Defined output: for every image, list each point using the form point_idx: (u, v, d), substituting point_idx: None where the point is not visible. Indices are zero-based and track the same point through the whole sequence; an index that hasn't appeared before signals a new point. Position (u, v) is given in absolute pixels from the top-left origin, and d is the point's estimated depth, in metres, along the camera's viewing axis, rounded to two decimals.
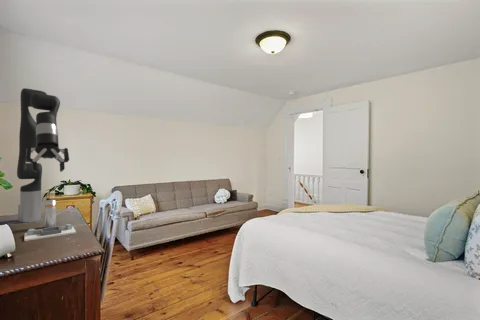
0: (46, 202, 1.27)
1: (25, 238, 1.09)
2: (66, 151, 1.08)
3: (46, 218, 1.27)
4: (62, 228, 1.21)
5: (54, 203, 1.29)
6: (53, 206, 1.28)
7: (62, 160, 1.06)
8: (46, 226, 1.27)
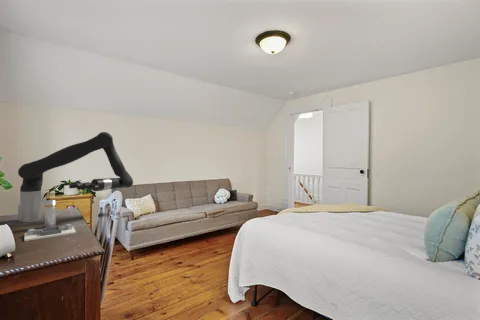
0: (46, 202, 1.27)
1: (25, 238, 1.09)
2: None
3: (46, 218, 1.27)
4: (62, 228, 1.21)
5: (54, 203, 1.29)
6: (53, 206, 1.28)
7: (77, 187, 1.45)
8: (46, 226, 1.27)
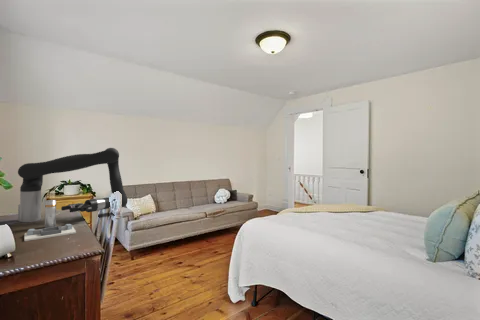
0: (46, 202, 1.27)
1: (25, 238, 1.09)
2: None
3: (46, 218, 1.27)
4: (62, 228, 1.21)
5: (54, 203, 1.29)
6: (53, 206, 1.28)
7: (69, 209, 1.42)
8: (46, 226, 1.27)
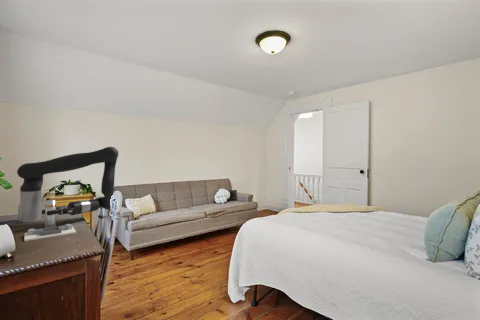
0: (46, 202, 1.27)
1: (25, 238, 1.09)
2: None
3: (46, 218, 1.27)
4: (62, 228, 1.21)
5: (54, 203, 1.29)
6: (53, 206, 1.28)
7: None
8: (46, 226, 1.27)
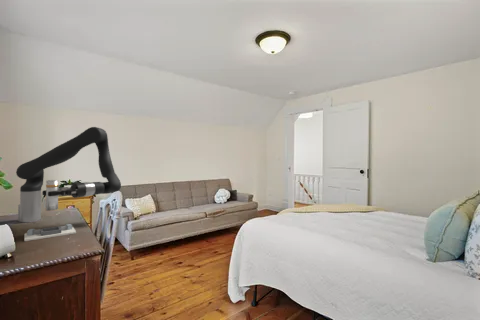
0: (47, 182, 1.16)
1: (25, 238, 1.09)
2: None
3: (47, 199, 1.16)
4: (62, 228, 1.21)
5: (56, 183, 1.18)
6: (55, 186, 1.17)
7: None
8: (47, 208, 1.16)
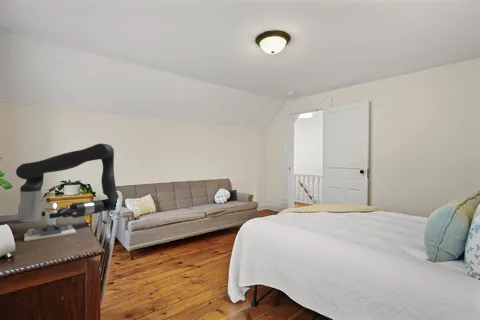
0: (46, 205, 1.16)
1: (25, 238, 1.09)
2: None
3: (46, 223, 1.16)
4: (62, 228, 1.21)
5: (55, 206, 1.17)
6: (54, 209, 1.17)
7: None
8: None
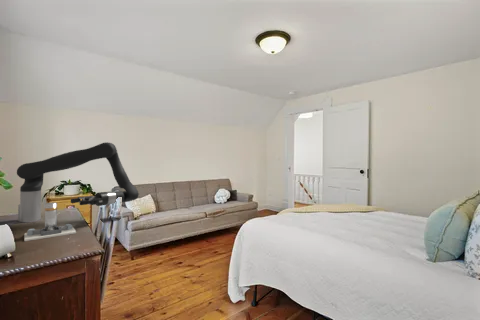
0: (46, 205, 1.15)
1: (25, 238, 1.09)
2: None
3: (46, 223, 1.15)
4: (62, 228, 1.21)
5: (55, 206, 1.17)
6: (54, 209, 1.17)
7: (79, 202, 1.33)
8: None
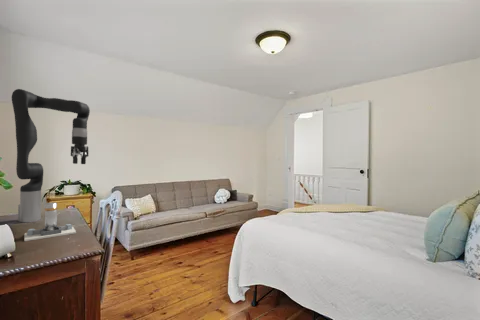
0: (46, 205, 1.15)
1: (25, 238, 1.09)
2: None
3: (46, 223, 1.15)
4: (62, 228, 1.21)
5: (55, 206, 1.17)
6: (53, 210, 1.16)
7: None
8: None
